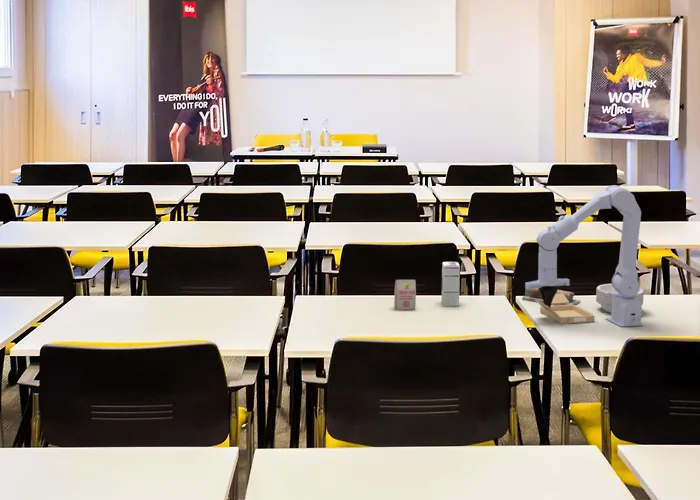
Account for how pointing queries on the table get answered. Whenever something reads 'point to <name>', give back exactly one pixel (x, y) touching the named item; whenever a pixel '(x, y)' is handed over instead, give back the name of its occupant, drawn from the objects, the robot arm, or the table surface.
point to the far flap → (559, 299)
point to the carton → (568, 314)
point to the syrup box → (450, 283)
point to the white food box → (405, 295)
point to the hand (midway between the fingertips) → (547, 308)
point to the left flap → (546, 307)
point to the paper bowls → (611, 296)
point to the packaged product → (536, 295)
